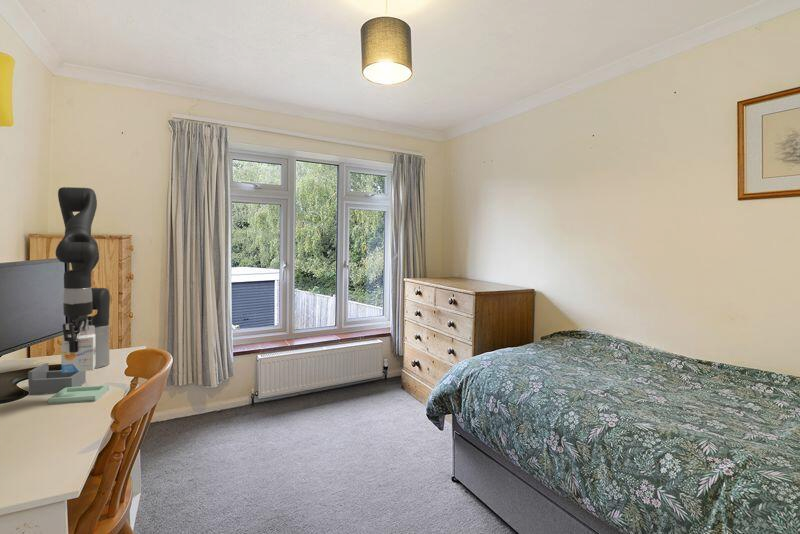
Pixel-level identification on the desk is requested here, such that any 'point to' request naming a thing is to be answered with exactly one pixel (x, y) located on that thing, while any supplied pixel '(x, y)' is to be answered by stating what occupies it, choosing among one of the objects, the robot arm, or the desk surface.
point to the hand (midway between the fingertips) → (79, 349)
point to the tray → (78, 394)
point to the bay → (53, 380)
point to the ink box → (80, 353)
